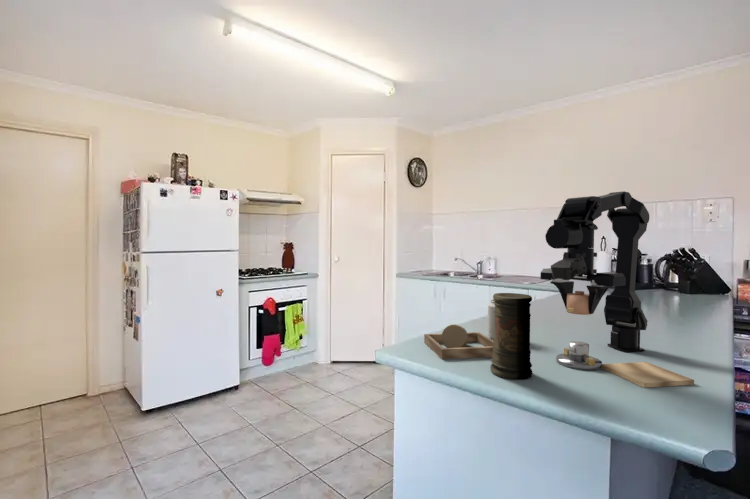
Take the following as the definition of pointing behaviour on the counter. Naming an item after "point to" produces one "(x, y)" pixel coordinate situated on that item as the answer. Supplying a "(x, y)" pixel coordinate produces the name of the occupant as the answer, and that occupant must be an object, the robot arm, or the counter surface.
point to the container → (512, 336)
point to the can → (491, 319)
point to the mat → (647, 374)
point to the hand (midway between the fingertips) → (579, 311)
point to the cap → (578, 303)
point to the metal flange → (578, 357)
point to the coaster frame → (464, 352)
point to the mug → (454, 336)
